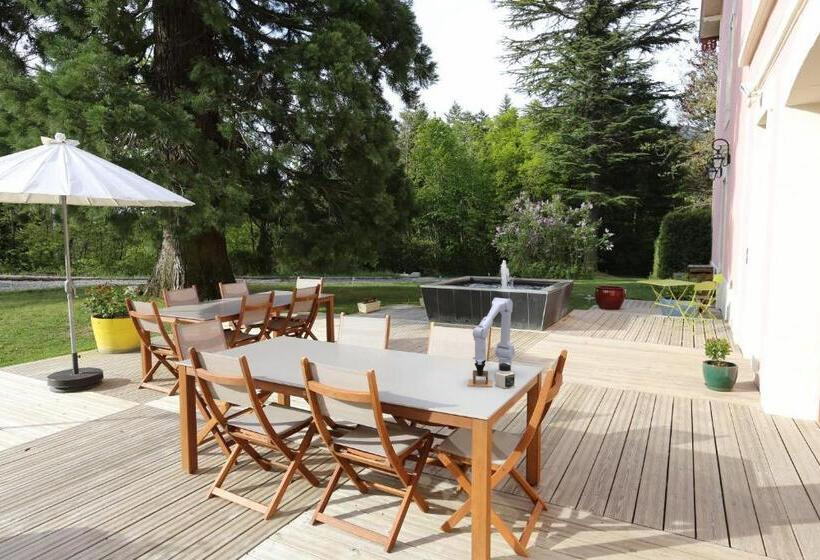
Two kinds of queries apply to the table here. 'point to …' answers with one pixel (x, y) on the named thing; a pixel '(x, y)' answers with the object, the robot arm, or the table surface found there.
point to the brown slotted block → (485, 374)
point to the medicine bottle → (505, 376)
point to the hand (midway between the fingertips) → (480, 374)
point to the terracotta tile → (480, 383)
